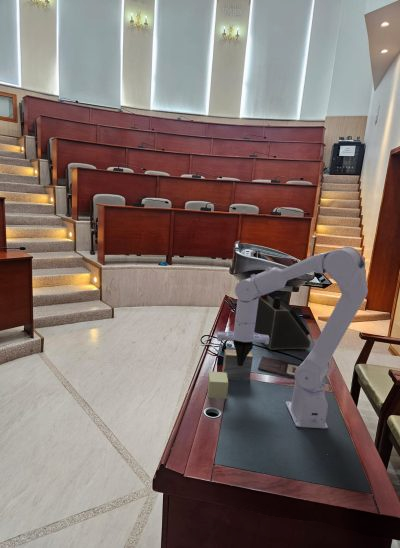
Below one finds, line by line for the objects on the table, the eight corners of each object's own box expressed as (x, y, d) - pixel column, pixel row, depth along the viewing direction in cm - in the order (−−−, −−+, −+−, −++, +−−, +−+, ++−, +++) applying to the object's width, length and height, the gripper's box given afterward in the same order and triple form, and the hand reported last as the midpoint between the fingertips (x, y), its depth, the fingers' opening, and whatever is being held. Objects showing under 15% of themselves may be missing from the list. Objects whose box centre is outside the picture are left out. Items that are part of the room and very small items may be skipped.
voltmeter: (309, 351, 122) (318, 300, 117) (268, 352, 118) (276, 300, 113) (289, 333, 137) (296, 287, 132) (252, 333, 133) (258, 286, 128)
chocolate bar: (262, 356, 114) (316, 368, 108) (262, 358, 114) (316, 371, 108) (257, 368, 105) (316, 382, 100) (257, 370, 105) (316, 385, 100)
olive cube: (226, 398, 89) (228, 382, 88) (208, 397, 89) (209, 381, 87) (224, 388, 94) (226, 372, 92) (207, 387, 93) (208, 371, 92)
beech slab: (249, 380, 98) (252, 356, 97) (223, 379, 98) (225, 355, 96) (247, 374, 102) (250, 351, 100) (222, 373, 101) (224, 349, 100)
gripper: (267, 316, 96) (261, 358, 99) (218, 313, 95) (213, 355, 98) (273, 326, 89) (266, 371, 92) (220, 322, 88) (215, 368, 91)
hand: (239, 364), depth 95 cm, fingers closed
